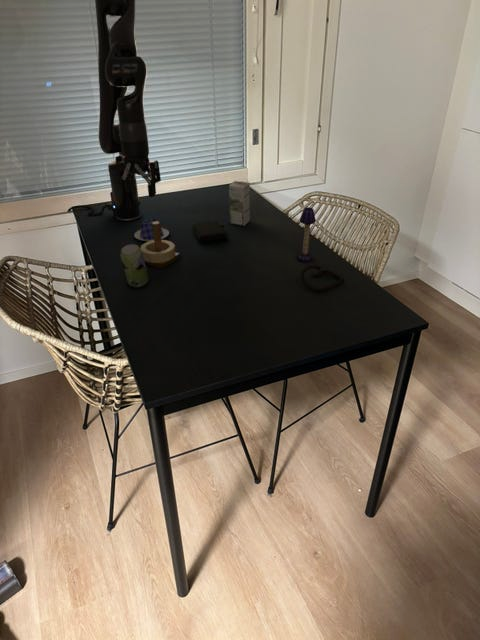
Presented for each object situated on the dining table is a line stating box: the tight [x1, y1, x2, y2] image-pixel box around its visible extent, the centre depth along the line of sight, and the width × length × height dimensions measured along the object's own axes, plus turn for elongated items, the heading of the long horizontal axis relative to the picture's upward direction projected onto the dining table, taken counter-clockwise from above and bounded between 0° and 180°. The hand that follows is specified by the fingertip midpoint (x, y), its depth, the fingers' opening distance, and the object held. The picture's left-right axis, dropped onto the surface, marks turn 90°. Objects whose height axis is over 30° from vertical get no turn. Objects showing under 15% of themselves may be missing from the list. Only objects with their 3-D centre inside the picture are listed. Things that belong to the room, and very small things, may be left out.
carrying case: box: [192, 219, 228, 244], centre depth 171 cm, size 11×3×15 cm
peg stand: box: [145, 220, 181, 270], centre depth 153 cm, size 9×9×12 cm
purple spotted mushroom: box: [297, 206, 316, 263], centre depth 151 cm, size 5×5×17 cm
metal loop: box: [299, 264, 344, 293], centre depth 141 cm, size 13×5×10 cm
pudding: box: [133, 218, 170, 242], centre depth 171 cm, size 12×12×5 cm
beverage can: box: [119, 243, 150, 288], centre depth 140 cm, size 6×7×12 cm
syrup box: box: [228, 180, 251, 227], centre depth 178 cm, size 6×6×14 cm
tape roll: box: [139, 239, 176, 263], centre depth 155 cm, size 10×10×3 cm
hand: (140, 194), depth 147 cm, fingers open, 8 cm apart
